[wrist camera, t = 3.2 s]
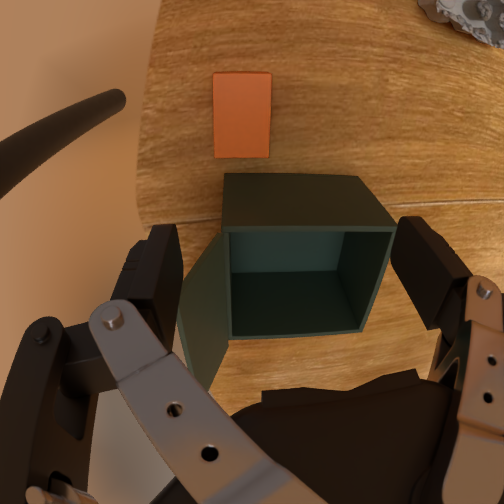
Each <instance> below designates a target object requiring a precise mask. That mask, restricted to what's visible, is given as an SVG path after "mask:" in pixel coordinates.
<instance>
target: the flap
mask: <svg viewBox="0 0 504 504" xmlns="http://www.w3.org/2000/svg"><path fill="white" fill-rule="evenodd" d="M176 322H177V327H178V331H179V335H180V339H181V343H182V347H183V351H184V355H185V359H186V363H187V367H188V370H189V371H190V372H191V373H192V374H193V376H194V377H195V378H196V379H197V380H198V381H199V383H200V384H201V385H202V386H203V387H204V388H205V390H206V391H207V392H208V390H209V388H210V386H211V384H212V382H213V380H214V377H215V375H216V373H217V371H218V369H219V366H220V364H221V362H222V360H223V358H224V355H225V353H226V351H227V349H228V347H229V344H228V327H227V309H226V290H225V269H224V245H223V233H217V234H216V235H215V237H214V238H213V240H212V241H211V242H210V244H209V245H208V246H207V248H206V249H205V251H204V252H203V253H202V255H201V256H200V258H199V259H198V260H197V262H196V263H195V265H194V266H193V267H192V269H191V270H190V272H189V273H188V274H187V276H186V277H185V279H184V280H183V282H182V288H181V294H180V300H179V306H178V313H177V319H176Z"/></svg>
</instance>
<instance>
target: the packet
mask: <svg viewBox="0 0 504 504" xmlns="http://www.w3.org/2000/svg"><path fill="white" fill-rule="evenodd" d="M271 90H272V74H271V73H269V72H251V71H229V72H215V73H213V125H214V158H269V141H270V116H271Z"/></svg>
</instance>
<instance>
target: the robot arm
mask: <svg viewBox="0 0 504 504" xmlns="http://www.w3.org/2000/svg"><path fill="white" fill-rule="evenodd" d="M390 259H391V264H392V267H393V269H394V270H395V272H396V274H397V276H398V277H399V279H400V281H401V283H402V284H403V286H404V288H405V290H406V291H407V293H408V295H409V297H410V299H411V300H412V302H413V304H414V306H415V308H416V310H417V311H418V313H419V315H420V317H421V319H422V321H423V323H424V325H425V327H426V329H427V331H428V330H433V329H438V328H440V329H441V333H440V335H439V336H438V339H437V343H436V348H435V352H434V356H433V360H432V364H431V368H430V372H429V375H428V378H427V380H425V379H420V378H419V376H418V373H417V371H416V369H410V370H406V371H401V372H397V373H392V374H387V375H382V376H380V377H378V378H376V379H374V380H372V381H370V382H368V383H365V384H363V385H361V386H359V387H356V388H354V389H352V390H349V391H337V390H326V389H316V388H306V387H301V388H291V389H279V390H266V391H262V398H261V402H259V403H256V404H253V405H250V406H248V407H246V408H243V409H242V410H240V411H238V412H236V413H234V414H233V415H232V416H229V415H228V414H227V413H226V412H225V411H224V410H223V409H222V408H221V407H220V405H219V404H218V403H217V402H216V401H215V400H214V399H213V398H212V397H211V396H210V394H209V393H208V392H207V391H206V390H205V388H204V387H203V386H202V385H201V384H200V383H199V381H198V380H197V379H196V378H195V377H194V376H193V374H192V373H191V372H190V371H189V370H188V368H187V367H186V366H185V365H184V363H183V362H182V361H181V360H180V359H179V357H178V356H177V355H176V354H175V353H174V352H172V347H173V340H174V332H175V326H176V319H177V313H178V306H179V300H180V294H181V288H182V282H183V260H182V254H181V249H180V243H179V238H178V232H177V227H176V225H175V224H161V225H153V227H152V229H151V232H150V234H149V237H148V240H139V241H138V242H137V243H136V245H134V246H133V247H132V248H131V249H130V251H129V254H128V256H127V258H126V262H125V263H124V266H123V268H122V271H121V273H120V275H119V278H118V281H117V283H116V286H115V288H114V291H113V294H112V296H111V299H110V301H107V302H105V303H103V304H101V305H100V306H98V307H97V308H96V309H95V310H94V311H93V313H92V314H91V316H90V318H89V321H88V322H85V323H82V324H78V325H74V326H70V327H66V328H64V327H63V325H62V324H61V322H60V321H59V320H58V319H57V318H55V317H49V316H48V317H42V318H40V319H38V320H36V321H35V322H33V323H32V324H31V325H30V326H29V327H28V328H27V329H26V331H25V333H24V335H23V337H22V340H21V342H20V345H19V348H18V350H17V352H16V355H15V358H14V360H13V363H12V366H11V369H10V372H9V375H8V377H7V380H6V383H5V386H4V390H3V393H2V396H1V399H0V504H98V502H97V501H96V500H95V499H94V497H92V496H91V495H90V494H88V493H87V486H88V473H89V463H90V453H91V444H92V436H93V428H94V421H95V414H96V408H97V401H98V396H99V393H100V392H104V391H109V390H113V389H119V391H120V393H121V395H122V396H123V398H124V400H125V401H126V403H127V405H128V407H129V408H130V410H131V412H132V413H133V415H134V416H135V418H136V420H137V421H138V423H139V424H140V426H141V427H142V429H143V431H144V432H145V433H146V435H147V437H148V438H149V440H150V441H151V443H152V444H153V446H154V447H155V448H156V450H157V451H158V452H159V454H160V456H161V457H162V458H163V460H164V461H165V462H166V464H167V465H168V466H169V468H170V469H171V470H172V472H173V473H174V474H175V477H174V478H173V479H172V480H171V481H170V482H169V483H168V484H167V486H166V487H165V488H164V489H163V490H162V491H161V492H160V493H159V494H158V495H157V496H156V497H155V498H154V499H153V500H152V501H151V502H150V504H504V293H501V291H500V289H499V288H498V286H497V285H496V284H495V283H494V282H493V281H491V280H490V279H488V278H486V277H483V276H480V275H474V276H473V274H472V273H471V272H470V270H469V269H468V268H467V266H466V265H465V264H464V263H463V261H462V260H461V259H460V258H459V256H458V255H457V254H455V251H454V250H453V249H452V248H451V247H449V244H448V243H447V242H446V241H445V239H444V238H443V237H442V236H441V235H439V234H438V233H437V232H435V231H434V230H432V229H431V227H430V226H429V225H428V224H427V223H426V222H425V221H424V219H423V218H422V217H420V216H402V217H401V218H400V219H399V222H398V225H397V229H396V233H395V237H394V241H393V245H392V248H391V253H390Z"/></svg>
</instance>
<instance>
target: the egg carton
mask: <svg viewBox="0 0 504 504" xmlns="http://www.w3.org/2000/svg"><path fill="white" fill-rule="evenodd" d="M418 5H419V6H420V7H422V8H423V9H424V10H425V12H426V14H427V17H428V18H429V19H430V20H432V21H434V22H439V23H443V22H445V23H446V22H449V21H451V22H452V25H453V27H454V30H457V31H460V32H463V33H466V34H472V35H473V36H474V37H476V40H477V41H479V42H480V43H487V44H489V45H492V46H495V47H496V48H502V49H504V0H418Z"/></svg>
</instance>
